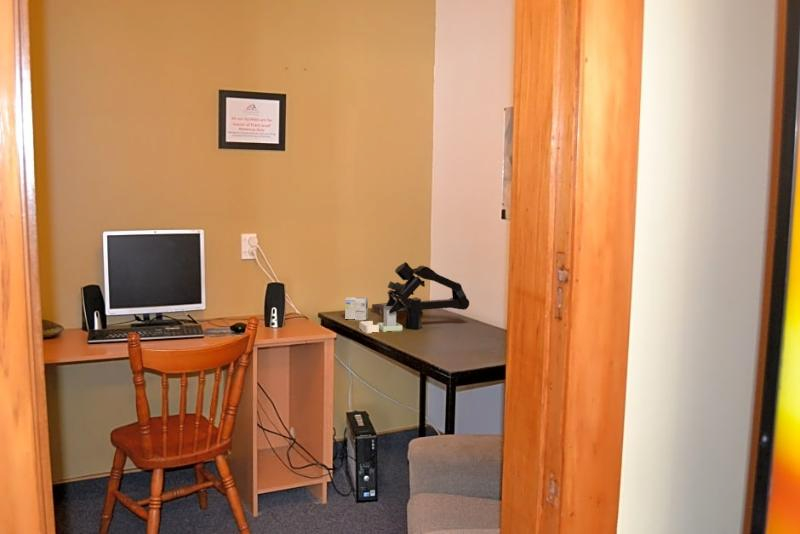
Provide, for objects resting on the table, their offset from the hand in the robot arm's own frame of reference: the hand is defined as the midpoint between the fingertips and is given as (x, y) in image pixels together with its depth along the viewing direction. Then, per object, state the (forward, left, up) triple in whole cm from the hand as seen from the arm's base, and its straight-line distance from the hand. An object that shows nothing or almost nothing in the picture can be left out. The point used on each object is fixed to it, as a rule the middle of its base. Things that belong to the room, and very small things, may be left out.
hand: (387, 311), depth 330 cm
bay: (+6, +6, -9) cm, 12 cm away
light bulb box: (+25, -15, -9) cm, 30 cm away
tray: (-1, -1, -9) cm, 9 cm away
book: (+12, -36, -9) cm, 39 cm away
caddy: (-1, -1, -8) cm, 8 cm away
